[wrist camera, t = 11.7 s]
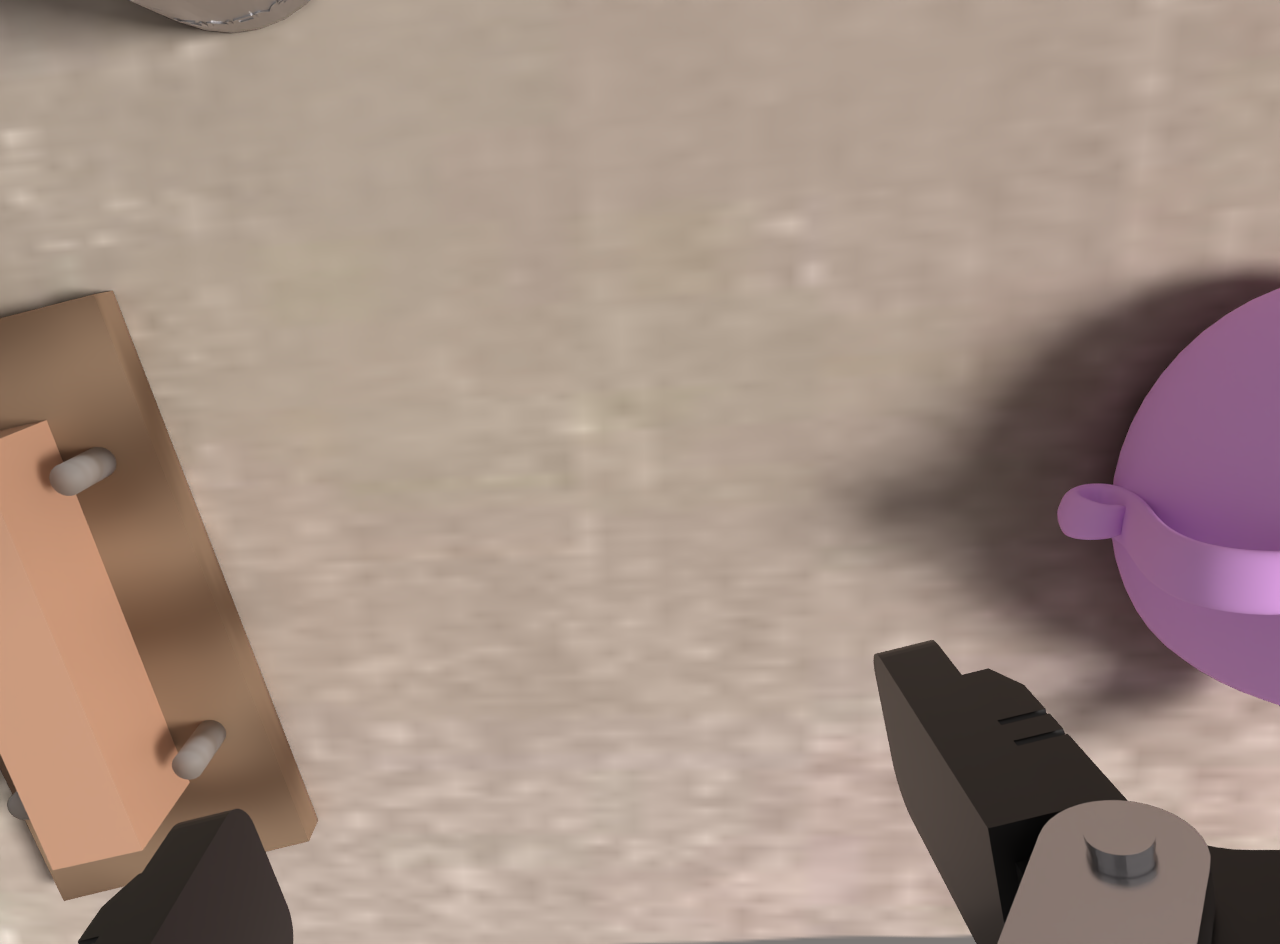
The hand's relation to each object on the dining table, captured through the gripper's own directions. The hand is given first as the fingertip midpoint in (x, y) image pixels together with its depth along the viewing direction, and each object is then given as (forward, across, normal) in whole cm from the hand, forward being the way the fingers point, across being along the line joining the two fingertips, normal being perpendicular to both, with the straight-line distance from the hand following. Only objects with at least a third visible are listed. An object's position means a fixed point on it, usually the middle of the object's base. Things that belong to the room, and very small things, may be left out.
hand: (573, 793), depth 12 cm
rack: (+28, +22, +4) cm, 36 cm away
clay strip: (+27, +22, +4) cm, 35 cm away
